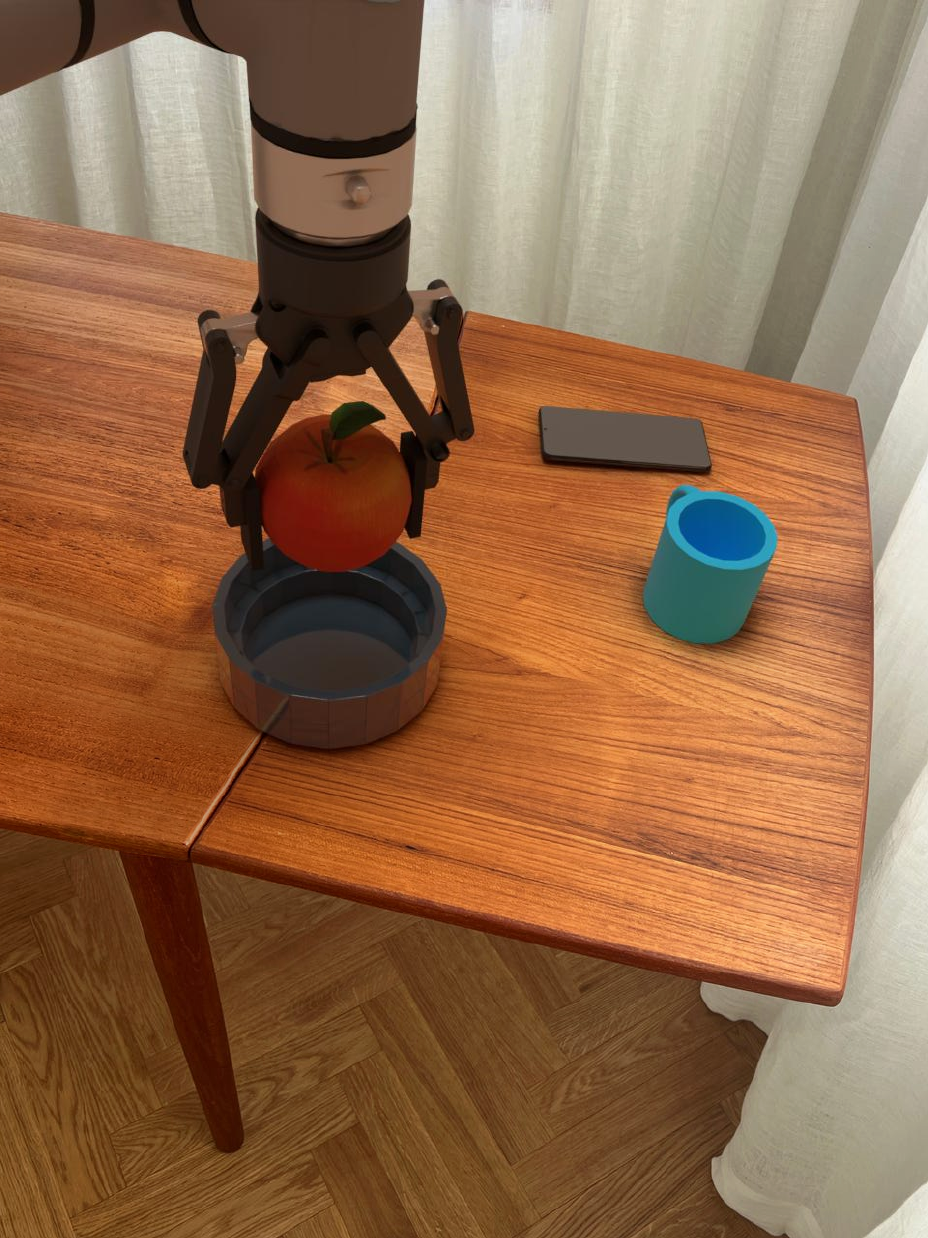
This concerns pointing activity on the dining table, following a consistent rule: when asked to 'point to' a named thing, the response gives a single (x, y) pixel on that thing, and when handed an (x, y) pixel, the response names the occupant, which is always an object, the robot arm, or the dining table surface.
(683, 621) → the mug
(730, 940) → the dining table surface
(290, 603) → the bowl
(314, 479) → the fruit
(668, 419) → the smartphone
